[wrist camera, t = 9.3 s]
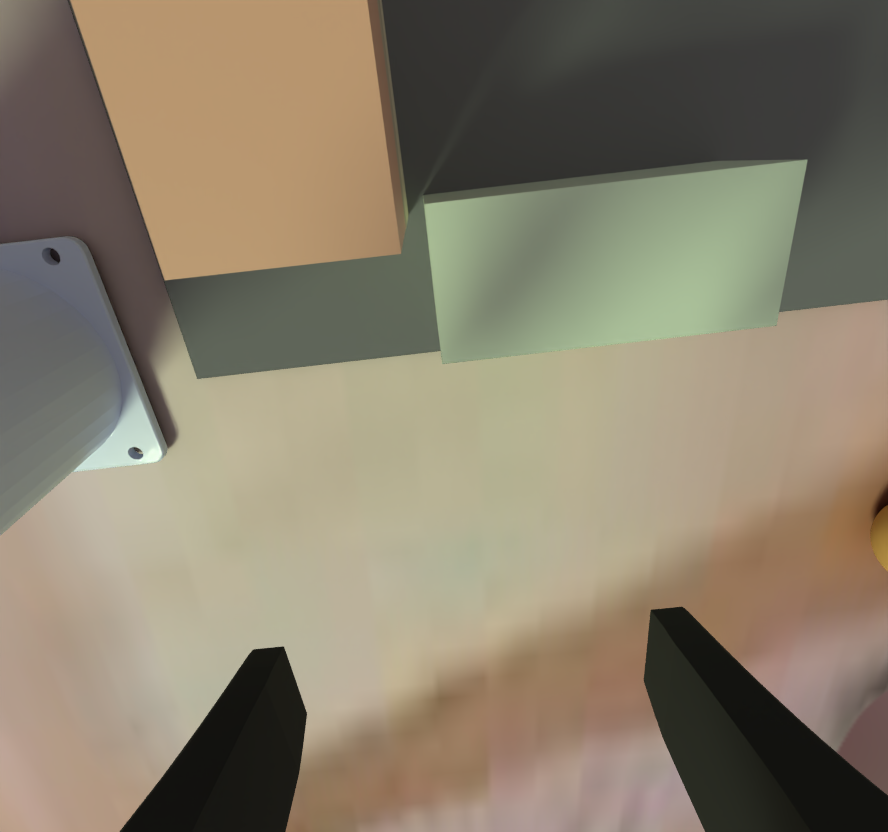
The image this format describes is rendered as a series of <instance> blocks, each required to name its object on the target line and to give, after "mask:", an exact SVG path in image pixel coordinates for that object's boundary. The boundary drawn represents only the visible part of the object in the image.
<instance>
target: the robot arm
mask: <svg viewBox="0 0 888 832" xmlns="http://www.w3.org/2000/svg"><path fill="white" fill-rule="evenodd" d="M51 248H53V249H54V250H56V251H57V252H58V254H59V255H60V262H59V263H58V262H56V261H55V260H53V258H52V257H51V255H50V250H51ZM134 447H137V448H139V449H141V451H142V452H143V454H139V453H137V452H136V451H135V450H134ZM167 450H168V449H167V445H166V442H165V440H164V437H163V435H162V432H161V429H160V427H159V424H158V422H157V419H156V417H155V414H154V412H153V409H152V407H151V404H150V402H149V399H148V397H147V394H146V392H145V389H144V386H143V384H142V381H141V379H140V376H139V374H138V371H137V369H136V366H135V364H134V361H133V359H132V356H131V354H130V351H129V349H128V346H127V343H126V341H125V338H124V336H123V333H122V331H121V328H120V326H119V323H118V321H117V318H116V316H115V313H114V311H113V308H112V305H111V303H110V300H109V298H108V295H107V293H106V290H105V288H104V285H103V283H102V280H101V278H100V275H99V273H98V270H97V268H96V265H95V262H94V260H93V257H92V255H91V252H90V250H89V249H88V247H87V245H86V244H85V243H84V242H83V241H81V240H80V239H78V238H76V237H71V236H64V237H56V238H47V239H38V240H30V241H21V242H13V243H4V244H0V535H2V534H3V533H4V532H5V531H6V530H7V529H8V528H9V527H11V526H12V525H13V524H14V523H15V522H16V521H17V520H18V519H20V518H21V517H22V516H23V515H24V514H25V513H26V512H27V511H29V510H30V509H31V508H32V507H33V506H34V505H35V504H36V503H38V502H39V501H40V500H41V499H42V498H43V497H44V496H45V495H47V494H48V493H49V492H50V491H51V490H52V489H53V488H54V487H56V486H57V485H58V484H59V483H60V482H61V481H62V480H63V479H65V478H66V477H67V476H68V475H69V474H70V473H71V472H78V471H87V470H95V469H104V468H113V467H122V466H130V465H139V464H148V463H155V462H159V461H160V460H161V459H162V458H163V457H164V456H165V455H166V453H167ZM644 683H645V686H646V689H647V692H648V695H649V698H650V701H651V704H652V707H653V711H654V713H655V716H656V719H657V722H658V725H659V728H660V731H661V734H662V737H663V739H664V741H665V744H666V746H667V748H668V750H669V753H670V755H671V757H672V759H673V762H674V764H675V766H676V768H677V771H678V773H679V775H680V777H681V779H682V782H683V784H684V786H685V788H686V791H687V793H688V795H689V797H690V799H691V802H692V804H693V806H694V808H695V810H696V813H697V815H698V817H699V819H700V821H701V824H702V826H703V828H704V830H705V832H888V795H887V794H885V793H884V792H883V791H882V790H880V789H879V788H878V787H877V786H875V785H874V784H873V783H872V782H871V781H870V780H868V779H867V778H866V777H865V776H864V775H862V774H861V773H860V772H859V771H857V770H856V769H855V768H854V767H853V766H851V765H850V764H849V763H848V762H847V761H846V760H845V759H843V758H842V757H841V756H840V755H839V754H838V753H837V752H835V751H834V750H833V749H832V748H831V747H830V746H828V745H827V744H826V743H825V742H824V741H823V740H822V739H820V738H819V737H818V736H817V735H816V734H815V733H814V732H813V731H811V730H810V729H809V728H808V727H807V726H806V725H805V724H804V723H802V722H801V721H800V720H799V719H798V718H797V717H796V716H795V715H794V714H793V713H792V712H790V711H789V710H788V709H787V708H786V707H785V706H784V705H783V704H782V703H781V702H780V701H779V700H778V699H777V698H775V697H774V696H773V695H772V694H771V693H770V692H769V691H768V690H767V689H766V688H765V687H764V686H763V685H761V684H760V683H759V682H758V681H757V680H756V679H755V678H754V677H753V676H752V675H751V674H750V673H749V672H748V671H747V670H746V669H745V668H744V667H743V666H742V665H741V664H740V663H739V662H738V661H737V660H736V659H735V658H734V657H733V656H732V655H731V654H730V653H729V652H728V651H727V650H726V649H725V648H724V647H723V646H722V645H721V644H720V643H719V642H718V641H717V640H716V639H715V638H714V637H713V636H712V635H711V634H710V633H709V632H708V631H707V630H706V629H705V628H704V627H703V626H702V625H701V624H700V623H699V622H698V621H697V620H696V619H695V618H694V617H693V616H692V615H691V614H690V613H689V612H688V611H687V610H686V609H685V608H683V607H675V608H665V609H655V610H651V613H650V623H649V633H648V643H647V653H646V663H645V674H644ZM306 717H307V712H306V709H305V706H304V704H303V701H302V698H301V695H300V692H299V689H298V686H297V683H296V680H295V677H294V675H293V672H292V669H291V666H290V663H289V660H288V657H287V654H286V651H285V648H284V647H274V648H264V649H254V650H253V651H252V652H251V653H250V654H249V655H248V657H247V658H246V660H245V661H244V663H243V664H242V665H241V667H240V668H239V670H238V671H237V673H236V674H235V676H234V677H233V679H232V680H231V682H230V683H229V684H228V686H227V687H226V689H225V690H224V692H223V693H222V695H221V696H220V698H219V699H218V700H217V702H216V703H215V705H214V706H213V708H212V709H211V710H210V712H209V713H208V715H207V716H206V718H205V719H204V720H203V722H202V723H201V725H200V726H199V728H198V729H197V730H196V732H195V733H194V734H193V736H192V737H191V739H190V740H189V741H188V743H187V744H186V745H185V747H184V748H183V750H182V751H181V752H180V754H179V755H178V756H177V758H176V759H175V761H174V762H173V763H172V765H171V766H170V767H169V769H168V770H167V771H166V773H165V774H164V775H163V777H162V778H161V779H160V781H159V782H158V783H157V784H156V786H155V787H154V788H153V790H152V791H151V792H150V793H149V795H148V796H147V797H146V799H145V800H144V801H143V802H142V804H141V805H140V806H139V808H138V809H137V810H136V811H135V813H134V814H133V815H132V816H131V818H130V819H129V820H128V822H127V823H126V824H125V825H124V827H123V828H122V829H121V830H120V832H285V831H286V827H287V822H288V818H289V814H290V810H291V805H292V801H293V797H294V793H295V788H296V784H297V780H298V775H299V770H300V763H301V756H302V749H303V742H304V733H305V725H306Z"/></svg>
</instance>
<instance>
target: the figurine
mask: <svg viewBox="0 0 888 832" xmlns="http://www.w3.org/2000/svg"><path fill="white" fill-rule="evenodd" d="M870 539H871V545H872V549H873V551H874V554H875V556H876V557H877V559H878V561H879V562H880V563H881V565H882V566H883V567H884V568H885V569H886V570H887V571H888V505H886V506H885V507H884V508H883V509H882V510H881V511H880V512H879V513H878V514H877V516H876V517H875V519H874V521H873V524H872V527H871V533H870Z"/></svg>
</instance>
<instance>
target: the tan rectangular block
mask: <svg viewBox="0 0 888 832" xmlns="http://www.w3.org/2000/svg"><path fill="white" fill-rule="evenodd" d="M70 1H71V4H72V7H73V10H74V13H75V16H76V19H77V22H78V25H79V28H80V31H81V34H82V37H83V40H84V43H85V46H86V48H87V51H88V54H89V57H90V60H91V63H92V66H93V69H94V72H95V75H96V78H97V81H98V84H99V87H100V90H101V93H102V96H103V99H104V102H105V105H106V108H107V111H108V114H109V117H110V120H111V123H112V125H113V128H114V131H115V134H116V137H117V140H118V143H119V146H120V149H121V152H122V155H123V158H124V161H125V164H126V167H127V170H128V173H129V176H130V179H131V182H132V185H133V188H134V191H135V194H136V197H137V200H138V202H139V205H140V208H141V211H142V214H143V217H144V220H145V223H146V226H147V229H148V232H149V235H150V238H151V241H152V244H153V247H154V250H155V253H156V256H157V259H158V262H159V265H160V268H161V271H162V274H163V276H164V279H165V280H173V279H182V278H191V277H200V276H209V275H218V274H227V273H235V272H244V271H253V270H262V269H271V268H280V267H289V266H298V265H307V264H316V263H325V262H334V261H342V260H351V259H360V258H369V257H378V256H387V255H396V254H401V251H402V246H403V240H404V235H405V230H406V225H405V217H404V209H403V202H402V194H401V186H400V178H399V170H398V162H397V154H396V146H395V138H394V130H393V122H392V115H391V107H390V99H389V91H388V83H387V75H386V67H385V59H384V51H383V43H382V35H381V28H380V20H379V12H378V4H377V0H70Z"/></svg>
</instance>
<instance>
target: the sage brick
mask: <svg viewBox="0 0 888 832" xmlns="http://www.w3.org/2000/svg"><path fill="white" fill-rule="evenodd" d="M806 166H807V160H739V161H712V162H703V163H694V164H686V165H677V166H669V167H660V168H651V169H643V170H634V171H626V172H617V173H608V174H600V175H591V176H583V177H574V178H565V179H557V180H548V181H540V182H531V183H522V184H514V185H505V186H497V187H488V188H479V189H471V190H462V191H454V192H445V193H436V194H428V195H423V202H424V211H425V219H426V228H427V237H428V246H429V255H430V264H431V273H432V281H433V290H434V299H435V308H436V317H437V325H438V333H439V341H440V349H441V357H442V364H447V363H456V362H465V361H474V360H482V359H491V358H500V357H508V356H517V355H526V354H534V353H543V352H552V351H561V350H569V349H578V348H587V347H595V346H604V345H613V344H622V343H630V342H639V341H648V340H656V339H665V338H674V337H682V336H691V335H700V334H709V333H717V332H726V331H735V330H743V329H752V328H761V327H769V326H776V325H777V320H778V315H779V309H780V304H781V299H782V293H783V288H784V283H785V277H786V272H787V267H788V262H789V256H790V251H791V246H792V240H793V235H794V230H795V224H796V219H797V214H798V208H799V203H800V198H801V192H802V187H803V182H804V176H805V171H806Z"/></svg>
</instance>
